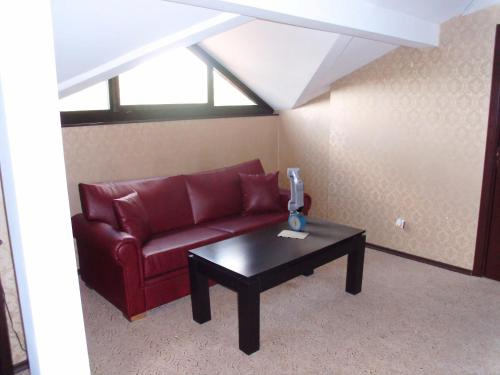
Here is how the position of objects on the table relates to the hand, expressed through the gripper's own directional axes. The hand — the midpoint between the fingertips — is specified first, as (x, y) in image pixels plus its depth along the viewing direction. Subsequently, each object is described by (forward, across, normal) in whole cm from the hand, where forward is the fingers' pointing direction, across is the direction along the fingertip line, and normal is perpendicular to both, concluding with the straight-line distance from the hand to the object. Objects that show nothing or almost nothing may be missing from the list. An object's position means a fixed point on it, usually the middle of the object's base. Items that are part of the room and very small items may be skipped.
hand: (299, 216), depth 312 cm
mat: (+10, +14, 0) cm, 18 cm away
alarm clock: (+10, +4, 0) cm, 11 cm away
